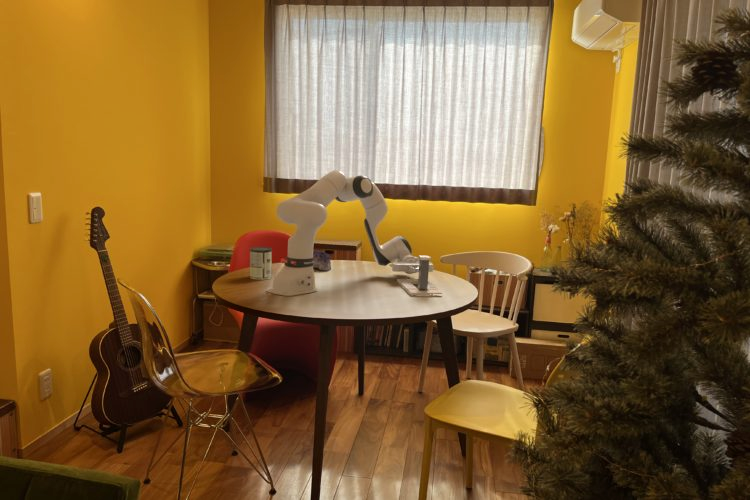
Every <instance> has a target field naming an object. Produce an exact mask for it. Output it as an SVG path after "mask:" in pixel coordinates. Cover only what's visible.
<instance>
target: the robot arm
mask: <svg viewBox="0 0 750 500" xmlns="http://www.w3.org/2000/svg"><path fill="white" fill-rule="evenodd" d="M334 200H336V201H337V202H339V203H347V202H354V201H358V200H359V201H360V203H361V206H362V207H363V208H364V212H365V218H364V220H363V224H364V229H365V231H366V234H367V238H368V240H369V243H370V244H369V245H370V246H371V250H372V253H373V258H374V260H375V263H377V265H379V266H381V267H382V266H383V267H387V266H388V265H389V267H391V270H392V272H396V273H397V272H403V273H405V274H407V275H412V274H417V273H419V260H420V259H419V258H418V257H417V256H413V255H412V251H413V249H412V247H411V245H410V243H409V242H408V240H407V239H406V238H405V237H404V236H401V235H397V236H394V237H393V238H391V239H390V240H388V241H387V242H385V243H383V244H381V245H380V243H379V238H378V236H377V228H378V226H379V225H380V223H382V221H383V220H384V219H385V218H386V216H387V213H388V209H389V207H388V204H387V201H386V199H385V198H384V195H383V193H382V192H381V191H380V189H379V187H378V186H377V184H375V183H374V182H373V181H372V180H371V179H370V178H369V177H368V176H366V175H357V176H352V177H346V175H345V173H344V172H343V171H341V170H337V169H335V170H332V171H330V172H328V173H326V174H324V175H323V176H322V177H320V179H318V181H316V182H315V183H314V184H313V185H312V186H311V187H309V188H308V189H306V190H304V191H302V192H300V193H299V194H296V195H295V196H293V197H290V198H287V199H283V200H282V201H281V200H280V202H279V203H278V205H277V207H276V216H277V218H278V219H279V220H280V221H281V222H283V223H286V224H287V225H293V226H296V230H295V232H294V234H292V235H290V236H289V238H288V240H287V256H286V258H281V259H280V263H281V264H284V266H283V267H282V268H281V269H280V270H279V272H278V273H276V274H275V276H274V277H273V279H272V286H271V287H267V289H266V292H267V293H270V294H274V295H278V296H285V297H286V296H287V297H292V296H297V295H303V294H308V293H316V292H317V288H316V280H315V279H316V278H315V277H316V276H315V270H314V268H313V265H314V257H313V252H314V245H315V244H314V243H315V239H316V238H315V237H316V235H317V233H318V231H319V229H320V228H321V227H322V226H323V225H324V224H325V223H326V221H327V219H328V211H327V207H328V206H329V205H331V203H333V201H334ZM434 266H435V265H434V263H433V262H431V261H429V272H428V273H433V272H434V268H435V267H434Z"/></svg>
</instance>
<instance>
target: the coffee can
mask: <svg viewBox="0 0 750 500" xmlns="http://www.w3.org/2000/svg"><path fill="white" fill-rule="evenodd" d="M272 253H273V248H271V247H270V246H269V247H268V246H254V247H250V248H249V279H252V280H256V281H258V280H259V281H266V280H270V279H272V265H273V264H272V263H273V262H272V260H273V259H272V258H273V257H272Z"/></svg>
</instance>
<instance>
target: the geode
mask: <svg viewBox="0 0 750 500" xmlns="http://www.w3.org/2000/svg"><path fill="white" fill-rule="evenodd" d="M313 257H314V265H313V270H314V269H317V270H318V271H319V272H329V271H331V269H332V262H331V254H329V253H326V252H324V251H321V250H317V249H316V250H313Z"/></svg>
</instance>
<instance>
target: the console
mask: <svg viewBox="0 0 750 500" xmlns="http://www.w3.org/2000/svg"><path fill="white" fill-rule="evenodd" d="M397 282H398V283H399V284H400V285H401V286H402V287H403V288H404V289H405V290H406V291H407V292H408V293H409V294H410V295H430V294H431V295H433V294H442V295H443V292H441V291H440V290H439V289H438V288H437V287H435V286H434V285H433V284H432V283H430V282H429V281H428V288H427V291H419V290H418V287H416V285H413V284H418V278H417V279H416V278H409V279H408V278H397V279H396V283H397ZM398 283H397V284H398ZM399 284H398V285H399ZM400 285H399V286H400ZM401 286H400V287H401ZM402 287H401V288H402ZM403 288H402V289H403ZM404 289H403V290H404ZM405 290H404V291H405ZM406 291H405V292H406ZM407 292H406V293H407ZM408 293H407V294H408ZM409 294H408V295H409ZM410 295H409V296H410Z"/></svg>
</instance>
